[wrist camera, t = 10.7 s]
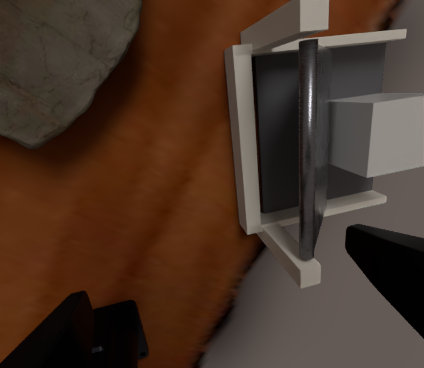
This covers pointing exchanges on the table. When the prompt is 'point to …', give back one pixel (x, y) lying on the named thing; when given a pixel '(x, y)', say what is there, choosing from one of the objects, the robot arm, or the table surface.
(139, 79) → the table surface
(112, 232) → the table surface
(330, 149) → the light grey cube
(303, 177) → the trapdoor
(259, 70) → the frame
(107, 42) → the marble piece
